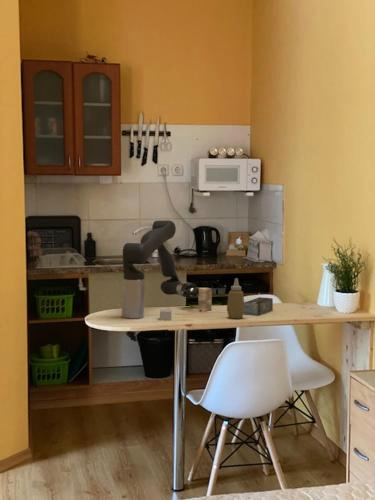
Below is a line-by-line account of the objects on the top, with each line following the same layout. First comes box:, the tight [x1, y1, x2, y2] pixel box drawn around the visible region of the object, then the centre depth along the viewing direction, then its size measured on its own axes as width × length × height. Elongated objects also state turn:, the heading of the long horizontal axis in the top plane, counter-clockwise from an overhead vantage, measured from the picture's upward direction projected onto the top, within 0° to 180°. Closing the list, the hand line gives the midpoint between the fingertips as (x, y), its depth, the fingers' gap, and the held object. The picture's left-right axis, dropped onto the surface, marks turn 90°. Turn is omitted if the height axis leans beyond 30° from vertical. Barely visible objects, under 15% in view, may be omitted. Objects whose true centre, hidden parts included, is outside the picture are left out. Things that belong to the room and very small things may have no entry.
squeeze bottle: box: [226, 277, 245, 320], centre depth 291 cm, size 8×8×18 cm
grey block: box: [159, 309, 173, 321], centre depth 285 cm, size 5×5×4 cm
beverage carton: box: [243, 296, 274, 317], centre depth 308 cm, size 8×19×7 cm, turn 150°
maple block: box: [197, 287, 213, 312], centre depth 308 cm, size 4×4×11 cm
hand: (204, 294), depth 309 cm, fingers open, 8 cm apart
